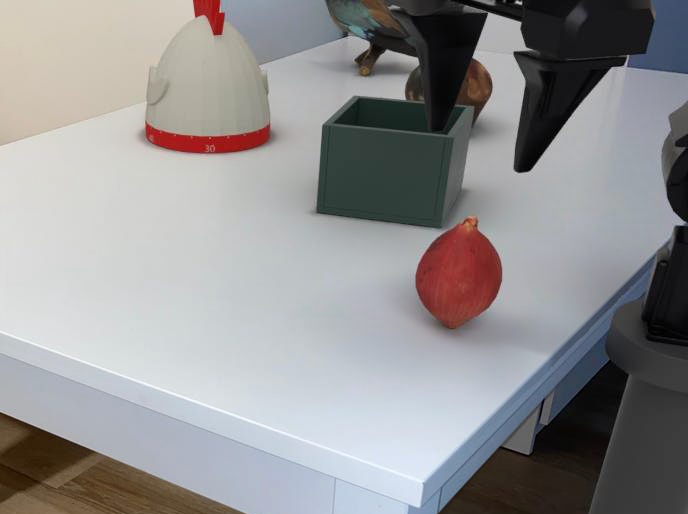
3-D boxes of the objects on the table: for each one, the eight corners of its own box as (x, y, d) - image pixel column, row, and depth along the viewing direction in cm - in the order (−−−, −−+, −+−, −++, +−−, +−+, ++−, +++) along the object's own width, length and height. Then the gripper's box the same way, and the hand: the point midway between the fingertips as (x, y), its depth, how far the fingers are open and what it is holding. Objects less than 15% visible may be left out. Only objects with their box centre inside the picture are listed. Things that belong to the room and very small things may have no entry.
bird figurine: (460, 60, 139) (400, -87, 130) (453, 77, 132) (389, -78, 123) (373, 107, 146) (311, -30, 137) (362, 125, 138) (296, -18, 130)
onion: (401, 336, 70) (416, 223, 65) (419, 305, 74) (434, 197, 69) (484, 350, 68) (506, 235, 63) (497, 318, 73) (519, 207, 68)
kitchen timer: (245, 115, 118) (249, -31, 109) (288, 146, 108) (297, -12, 98) (131, 124, 114) (126, -26, 105) (165, 157, 104) (162, -6, 95)
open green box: (461, 190, 96) (474, 106, 91) (440, 228, 88) (454, 137, 83) (346, 177, 99) (353, 95, 95) (315, 212, 91) (322, 124, 86)
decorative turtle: (405, 144, 108) (411, 63, 104) (398, 119, 121) (402, 45, 116) (496, 143, 107) (506, 60, 103) (480, 117, 120) (487, 43, 115)
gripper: (322, -159, 58) (298, 122, 68) (523, -134, 45) (458, 211, 55) (477, -156, 62) (434, 110, 72) (705, -132, 49) (614, 191, 58)
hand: (476, 150), depth 64 cm, fingers open, 9 cm apart
